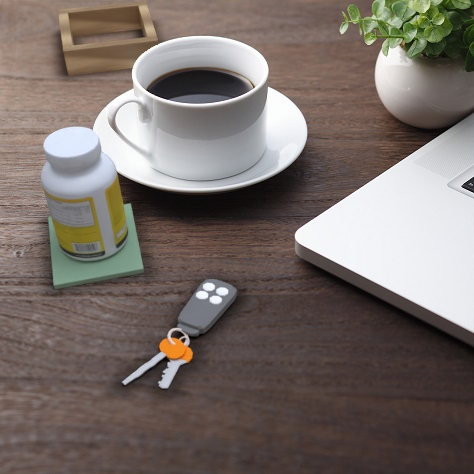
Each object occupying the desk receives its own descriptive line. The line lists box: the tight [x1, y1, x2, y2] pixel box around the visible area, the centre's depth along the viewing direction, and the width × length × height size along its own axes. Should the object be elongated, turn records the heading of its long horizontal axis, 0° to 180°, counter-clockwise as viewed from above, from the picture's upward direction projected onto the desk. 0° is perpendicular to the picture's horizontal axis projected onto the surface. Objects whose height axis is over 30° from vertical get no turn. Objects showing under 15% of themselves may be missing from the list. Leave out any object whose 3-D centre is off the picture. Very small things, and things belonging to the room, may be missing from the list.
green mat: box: [47, 202, 145, 290], centre depth 79 cm, size 10×8×1 cm
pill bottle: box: [40, 126, 128, 261], centre depth 75 cm, size 6×6×12 cm
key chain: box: [121, 278, 238, 390], centre depth 70 cm, size 13×4×2 cm, turn 157°
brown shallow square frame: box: [57, 0, 160, 77], centre depth 106 cm, size 11×11×4 cm
